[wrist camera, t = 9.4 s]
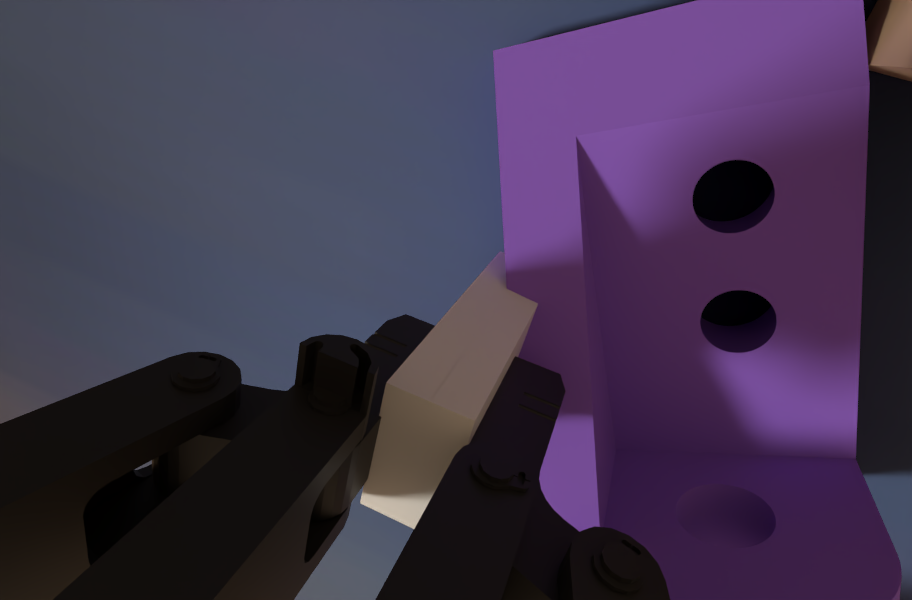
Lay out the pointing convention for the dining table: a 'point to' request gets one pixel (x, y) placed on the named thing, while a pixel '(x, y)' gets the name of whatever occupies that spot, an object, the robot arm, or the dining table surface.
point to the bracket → (701, 289)
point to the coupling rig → (890, 38)
